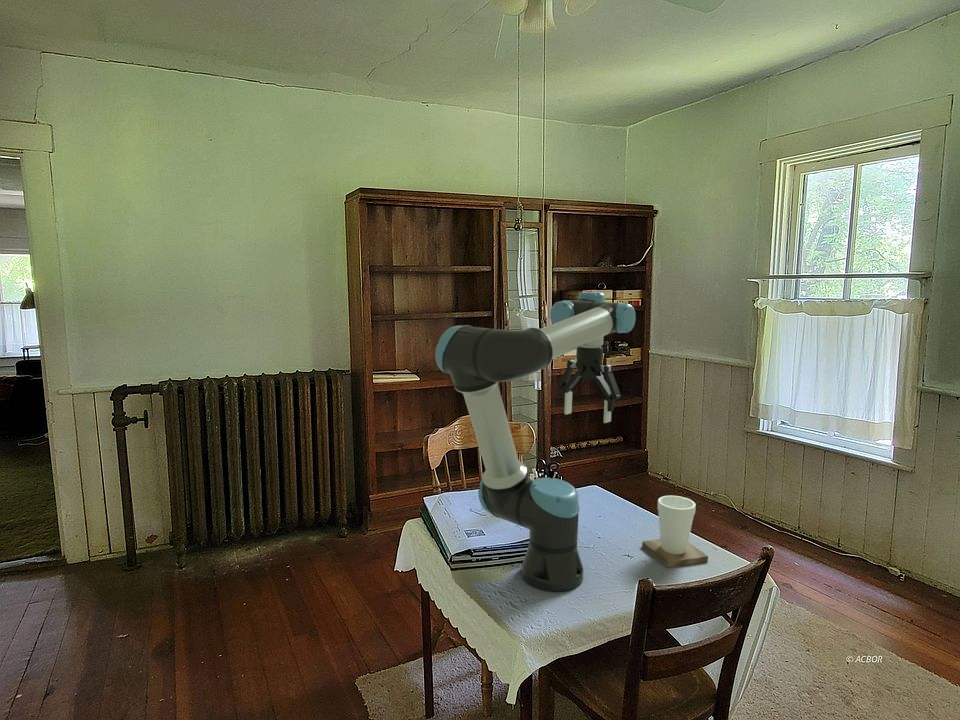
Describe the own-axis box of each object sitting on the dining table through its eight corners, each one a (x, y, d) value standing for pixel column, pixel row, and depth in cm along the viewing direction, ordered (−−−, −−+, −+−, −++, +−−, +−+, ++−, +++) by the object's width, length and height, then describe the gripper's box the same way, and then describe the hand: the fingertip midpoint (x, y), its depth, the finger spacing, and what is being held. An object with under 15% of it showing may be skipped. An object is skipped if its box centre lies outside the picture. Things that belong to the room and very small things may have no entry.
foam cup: (697, 557, 155) (700, 509, 153) (660, 556, 155) (663, 509, 153) (685, 541, 164) (688, 495, 162) (651, 540, 165) (654, 495, 163)
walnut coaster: (667, 567, 153) (667, 562, 153) (642, 546, 164) (642, 541, 164) (707, 561, 156) (708, 556, 156) (680, 541, 168) (680, 536, 167)
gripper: (635, 349, 167) (631, 423, 170) (562, 340, 184) (560, 408, 187) (621, 351, 161) (617, 428, 165) (547, 342, 178) (545, 412, 182)
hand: (587, 417), depth 176 cm, fingers open, 13 cm apart
